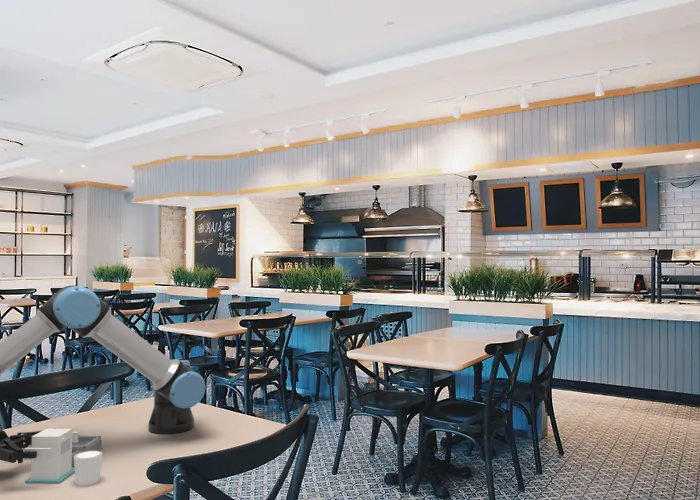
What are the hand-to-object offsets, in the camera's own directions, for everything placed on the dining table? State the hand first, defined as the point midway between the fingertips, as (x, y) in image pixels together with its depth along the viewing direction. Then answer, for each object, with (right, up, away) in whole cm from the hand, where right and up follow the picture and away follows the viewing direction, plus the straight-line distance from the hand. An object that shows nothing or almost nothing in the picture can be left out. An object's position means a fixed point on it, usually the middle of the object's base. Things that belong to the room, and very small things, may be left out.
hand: (65, 445), depth 147 cm
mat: (-3, -8, 0) cm, 9 cm away
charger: (-3, -8, 0) cm, 8 cm away
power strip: (-6, -9, +19) cm, 22 cm away
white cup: (+8, -8, -3) cm, 12 cm away
